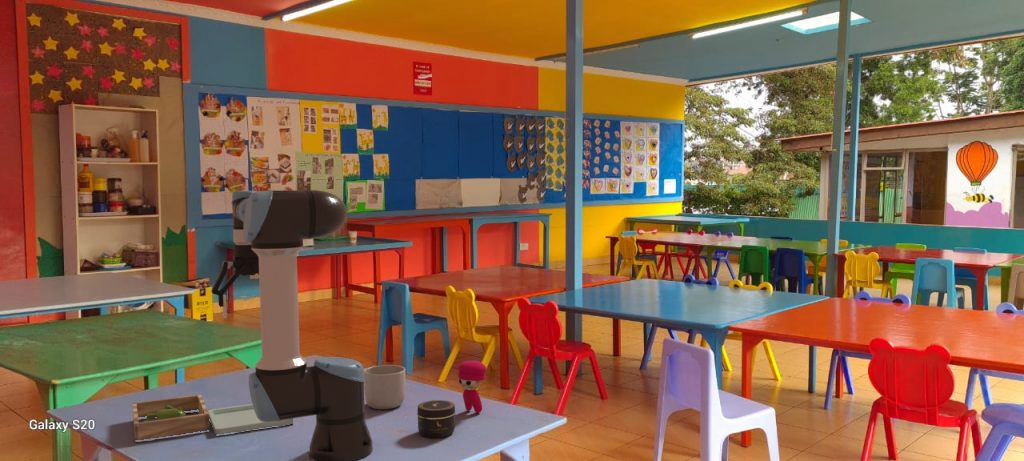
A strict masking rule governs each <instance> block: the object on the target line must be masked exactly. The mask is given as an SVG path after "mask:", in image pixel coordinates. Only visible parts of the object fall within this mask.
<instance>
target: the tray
mask: <svg viewBox="0 0 1024 461" xmlns="http://www.w3.org/2000/svg"><path fill="white" fill-rule="evenodd" d="M207 410H208V412H209V419H210V421H211V424H212V426H213V429H214V431H213V433H214V432H215V433H214V435H215V434H216V435H217V434H224V433H231V432H241V431H246V430H253V429H259V428H266V427H272V426H283V425H289V424H293V425H294V418H292V419H286V420H280V421H270V422H262V421H260V420H259V419H258V418H257V416H256V414H255V411H254V407H253V403H249V404H248V403H247V404H241V405H240V404H239V405H234V406H227V407H225V406H224V407H218V408H213V409H207ZM210 421H209V422H210ZM211 424H210V425H211ZM212 426H211V427H212ZM213 429H212V430H213Z"/></svg>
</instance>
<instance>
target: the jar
mask: <svg viewBox="0 0 1024 461" xmlns="http://www.w3.org/2000/svg"><path fill="white" fill-rule="evenodd" d="M416 415H417V429H418V432H419V434H420V436H422V437H423V438H427V439H443V438H448V437H450V436H451V435H453V433H454V432H455V428H456V405H455V403H454V402H451V401H449V400H443V399H438V400H437V399H434V400H427V401H424V402H421V403H419V404H418V405H417V411H416Z"/></svg>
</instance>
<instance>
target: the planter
mask: <svg viewBox="0 0 1024 461" xmlns="http://www.w3.org/2000/svg"><path fill="white" fill-rule="evenodd" d="M406 370H407V369H406V367H404V366H401V365H398V364H397V365H396V364H382V365H374V366H371V367H370V366H369V367H367V368H365V369H363V374H364V380H365V381H364V399H365V402H366V405H367V406H369V407H370V408H372V409H376V410H391V409H394V408H395V409H396V408H398V407H399V406H401V405H402V404H403V402H404V400H405V396H406Z"/></svg>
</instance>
